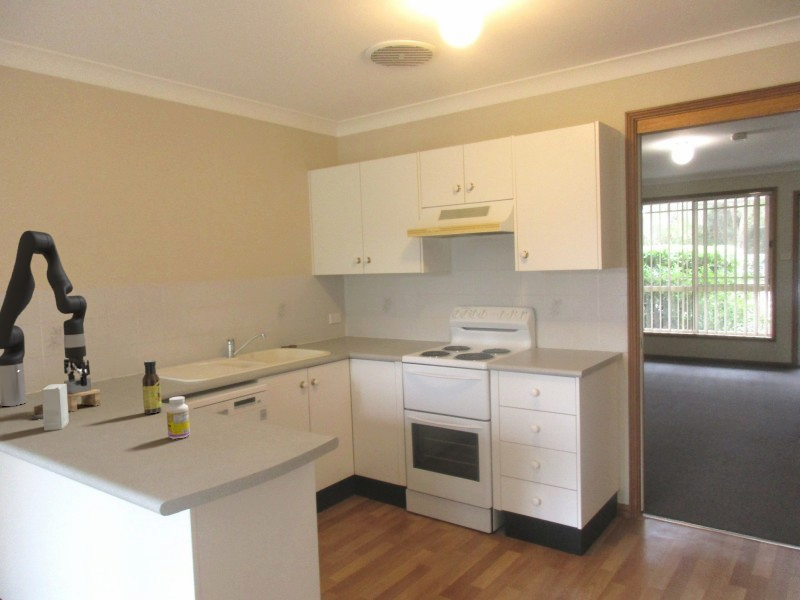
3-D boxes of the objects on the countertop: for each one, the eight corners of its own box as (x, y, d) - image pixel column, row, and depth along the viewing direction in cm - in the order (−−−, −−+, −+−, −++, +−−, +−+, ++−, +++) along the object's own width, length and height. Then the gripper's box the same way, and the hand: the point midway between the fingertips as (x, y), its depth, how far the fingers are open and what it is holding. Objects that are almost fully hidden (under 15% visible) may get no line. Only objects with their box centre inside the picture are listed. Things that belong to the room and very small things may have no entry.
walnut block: (34, 417, 225) (33, 406, 225) (43, 414, 229) (42, 404, 229) (43, 417, 224) (42, 406, 224) (51, 414, 228) (51, 404, 228)
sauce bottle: (162, 413, 223) (159, 361, 222) (144, 415, 220) (141, 363, 219) (161, 409, 229) (158, 359, 228) (143, 412, 226) (140, 360, 225)
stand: (57, 409, 236) (56, 393, 235) (86, 402, 246) (85, 387, 246) (71, 412, 231) (70, 396, 230) (100, 405, 241) (99, 389, 240)
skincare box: (51, 425, 212) (48, 384, 211) (70, 423, 213) (67, 382, 213) (43, 431, 204) (40, 389, 203) (62, 429, 205) (59, 387, 204)
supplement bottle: (168, 435, 193) (166, 397, 192) (189, 432, 195) (187, 394, 194) (168, 441, 186) (165, 401, 186) (190, 438, 189) (187, 398, 188)
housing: (84, 389, 243) (83, 377, 242) (91, 390, 240) (90, 378, 240) (65, 393, 236) (64, 381, 235) (71, 394, 233) (70, 381, 233)
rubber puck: (30, 419, 222) (30, 415, 222) (41, 417, 225) (41, 413, 225) (35, 421, 220) (35, 417, 220) (47, 418, 223) (46, 414, 223)
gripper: (94, 344, 236) (97, 384, 237) (74, 343, 244) (77, 382, 245) (75, 347, 230) (78, 388, 231) (55, 345, 237) (58, 385, 238)
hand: (77, 385), depth 238 cm, fingers open, 8 cm apart
